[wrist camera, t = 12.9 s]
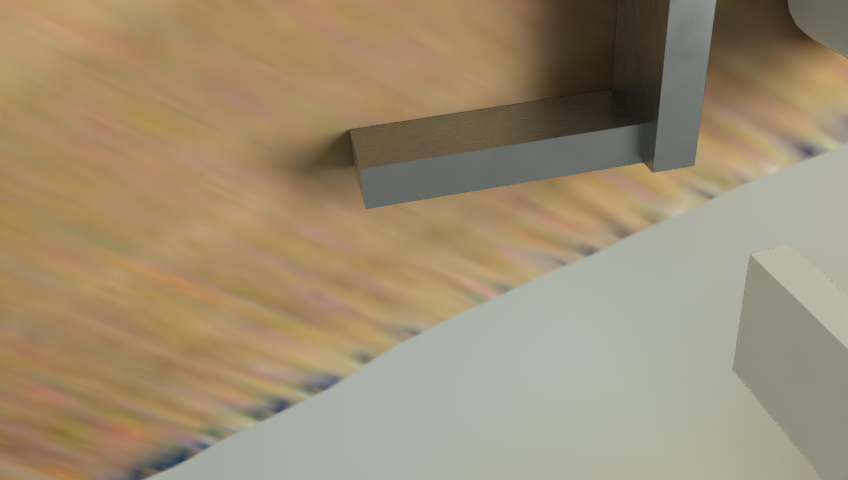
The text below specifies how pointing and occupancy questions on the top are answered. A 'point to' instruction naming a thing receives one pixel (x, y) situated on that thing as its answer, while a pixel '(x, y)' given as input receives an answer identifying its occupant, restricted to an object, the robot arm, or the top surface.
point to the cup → (823, 22)
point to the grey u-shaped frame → (558, 119)
